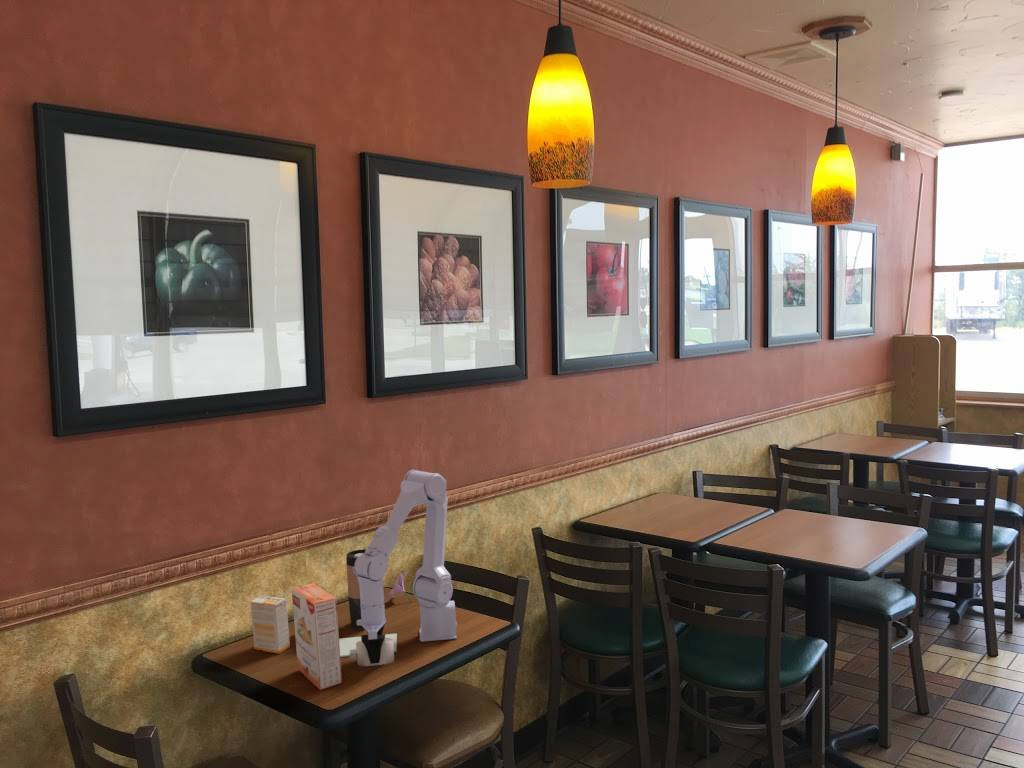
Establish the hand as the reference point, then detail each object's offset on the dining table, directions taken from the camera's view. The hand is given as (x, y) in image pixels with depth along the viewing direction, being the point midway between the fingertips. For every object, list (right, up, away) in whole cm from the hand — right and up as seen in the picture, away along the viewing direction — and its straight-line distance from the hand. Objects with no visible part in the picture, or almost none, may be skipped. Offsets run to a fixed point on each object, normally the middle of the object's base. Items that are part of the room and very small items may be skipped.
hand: (375, 656), depth 203 cm
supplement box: (-28, -2, +11) cm, 30 cm away
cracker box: (-12, -3, -7) cm, 14 cm away
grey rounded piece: (0, -1, 0) cm, 1 cm away
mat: (-4, -1, +10) cm, 11 cm away
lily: (0, +2, +41) cm, 41 cm away
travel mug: (-7, +1, +24) cm, 25 cm away
